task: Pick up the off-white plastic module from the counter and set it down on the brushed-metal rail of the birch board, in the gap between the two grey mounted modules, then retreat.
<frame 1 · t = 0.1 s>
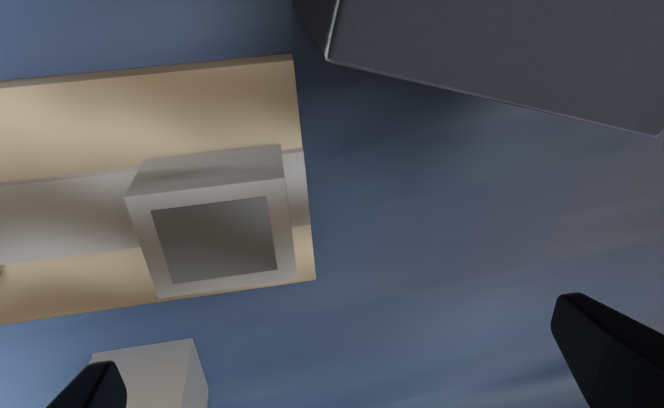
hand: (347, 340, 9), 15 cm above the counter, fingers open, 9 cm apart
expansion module: (154, 371, 29), on the counter
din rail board: (84, 198, 22), on the counter
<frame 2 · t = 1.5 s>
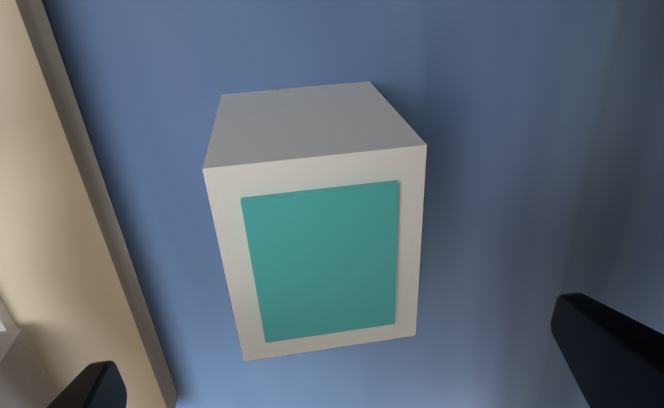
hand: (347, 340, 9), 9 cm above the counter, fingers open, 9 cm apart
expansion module: (304, 167, 16), on the counter
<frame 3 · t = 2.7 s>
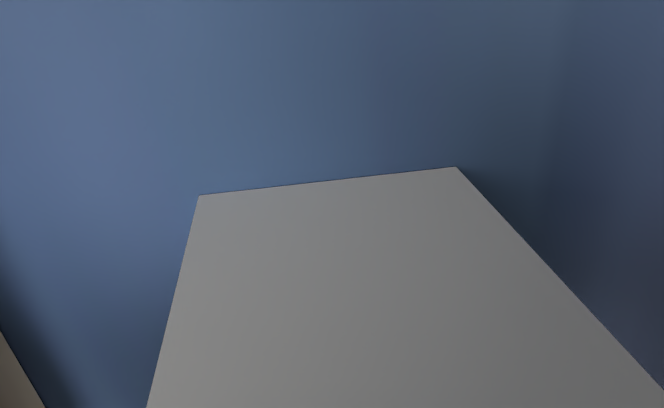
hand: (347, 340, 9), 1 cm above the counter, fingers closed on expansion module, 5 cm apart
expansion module: (338, 298, 10), on the counter, touching gripper
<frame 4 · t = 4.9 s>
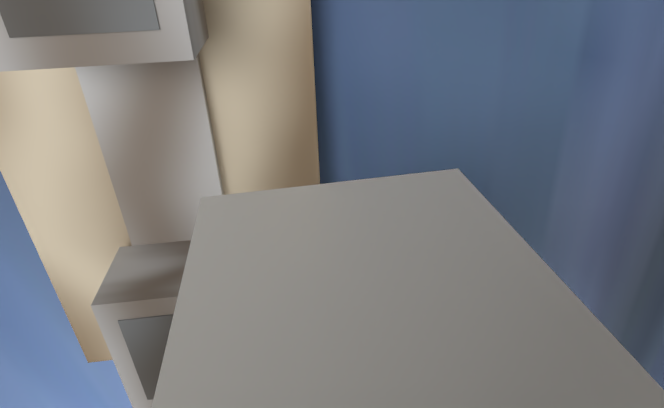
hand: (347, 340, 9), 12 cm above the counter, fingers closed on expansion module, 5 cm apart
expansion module: (339, 300, 10), point 10 cm above the counter, touching gripper
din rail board: (169, 134, 18), on the counter
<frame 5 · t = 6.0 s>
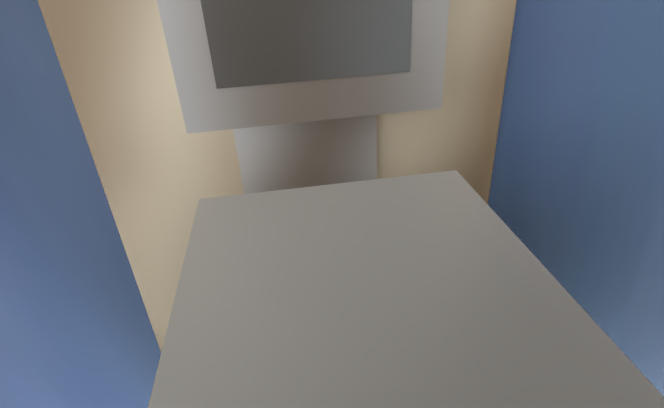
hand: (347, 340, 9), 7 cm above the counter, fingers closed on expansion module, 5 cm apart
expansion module: (338, 302, 10), point 6 cm above the counter, touching gripper
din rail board: (307, 179, 15), on the counter
when the fingers open (4 cm above the counter, at t = 6.9 s): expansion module drops 1 cm, resting on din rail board.
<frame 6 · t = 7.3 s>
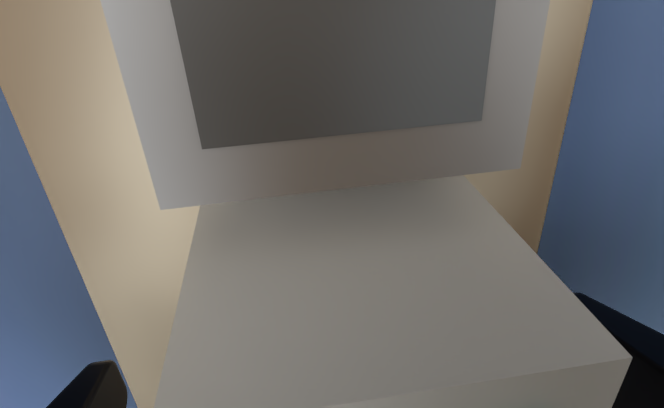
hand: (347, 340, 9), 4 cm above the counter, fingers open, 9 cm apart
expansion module: (331, 267, 11), point 2 cm above the counter, touching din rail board
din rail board: (319, 223, 13), on the counter
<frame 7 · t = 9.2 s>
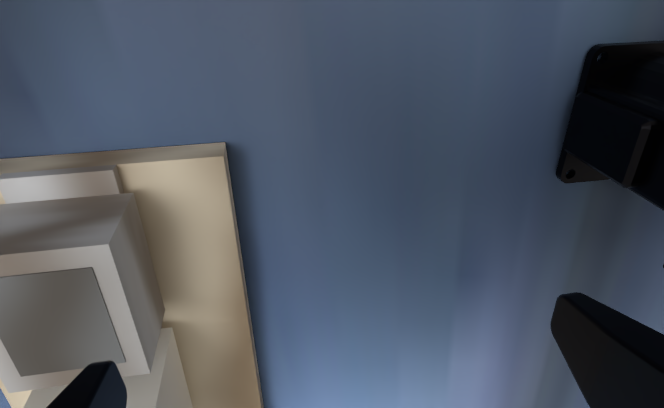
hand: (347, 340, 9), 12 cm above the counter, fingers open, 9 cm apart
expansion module: (130, 378, 22), point 2 cm above the counter, touching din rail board
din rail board: (137, 346, 23), on the counter
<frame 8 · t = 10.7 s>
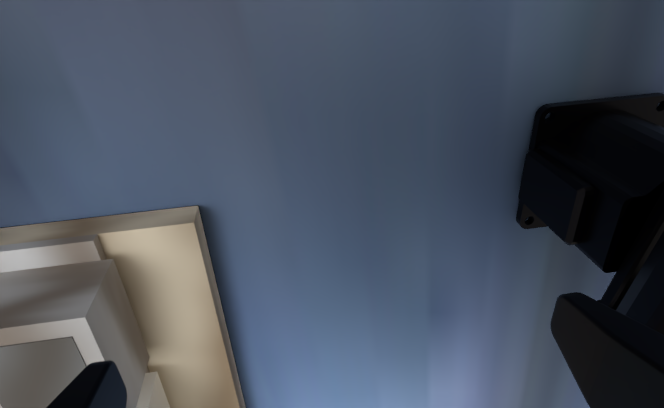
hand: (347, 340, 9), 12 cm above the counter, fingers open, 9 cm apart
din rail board: (130, 384, 25), on the counter
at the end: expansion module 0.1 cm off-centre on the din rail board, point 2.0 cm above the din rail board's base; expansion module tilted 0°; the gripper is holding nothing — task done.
